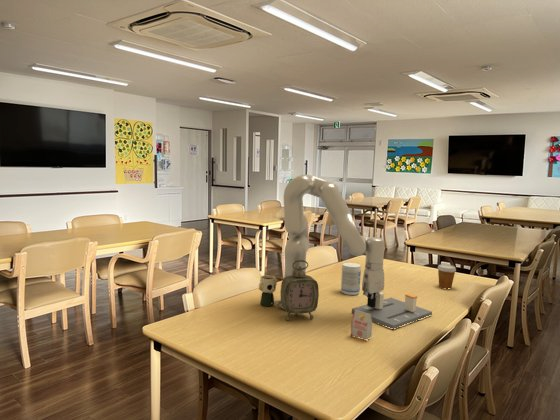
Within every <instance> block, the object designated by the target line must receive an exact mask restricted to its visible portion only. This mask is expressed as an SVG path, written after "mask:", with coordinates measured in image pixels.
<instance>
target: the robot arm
mask: <svg viewBox="0 0 560 420" xmlns="http://www.w3.org/2000/svg"><path fill="white" fill-rule="evenodd" d="M306 194H308V195H311V196H313V197H316V198H319V199H320V200H321V201H322V203H323V205H324V207H325V209H326V210H327V212H328V214H329V216H330V217H331V220H332V222H333V223H334V226H335V227H336V229H337V231H338V233H339V235H340V237H341V239H342V241H343V243H344V245H345V247H346V248H347V250H348V251H349V253H350V254H351V255H353V256H355V257H361V256H363V255H365V262H364V264H365V265H364V271H363V274H362V275H363V276H362V281H361V282H362V284H361V289H362V292H363V293H362V294H363V296H366V298H367V304H366V305H367V306H369V307H371V308H374V307H375V304H376V298H377V294H378V293H379V292H381V293H382V291H384V289H385V271H384V270H385V269H384V257H385V253H384V252H385V243H386V241H385V239H384V238H381V237H378V236H372V237H370V236H366V235H365V236H364V235H361V234H360V231H359V229H358V228H357V226H356V224H355V222H354V221H355V220H354V218H353V214H352V212H351V210H350V208H349V206H348V205H347V203H346V201H345V200H344V198H343V195H342V194H341V192H340V188H339V186H338V185H337V184H336V183H334V182H332V181H329V180H326V179H323V178H320V177H317V176H314V175H310V174H301V175H297V176H296V177H294V178H292V179H291V180H290V181H289V182H288V183H287V184H286V186H285V187H284V190H283V215H284V216H283V217H284V229H285V231H286V233H288V241H287V242H286V244H285V247H284V271H283V272H284V277H286V276H291V275H294V273H295V272H296V271H298V270H296V269H294V268H293V267H292V265H293V263H294V262H295V261H297V260H304V261H306V262H307V252H308V251H309V247H310V237H309V234H310V233H309V225H308V224H309V222H308V218H307V216H306V215H305V214H304V203H303V197H304V196H305V195H306ZM293 266H294V267H295V268H299V267H301V268H305V267H307V263H305V262H296V263H295V264H294V265H293ZM306 269H307V268H306ZM306 269H304V270H301V271H304V272H305V274H306ZM306 275H307V274H306ZM284 277H283V278H284ZM274 305H275V306H279V307H280V308H282V309H283V310H285V308H284V307H283V306H282V303H281V299H278V300H274Z"/></svg>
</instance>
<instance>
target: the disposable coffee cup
mask: <svg viewBox="0 0 560 420" xmlns="http://www.w3.org/2000/svg"><path fill="white" fill-rule="evenodd" d="M437 270H438V271H437V272H438V288H440V287H441V288H440V289H442V288H446V289H445V290H449V289H448V288H451V289H452V286H453V283H454V279H455V274H456V272H457V269H456V267H455V266H454V265H451V264H443V263H442V264H438V266H437Z"/></svg>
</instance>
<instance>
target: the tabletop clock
mask: <svg viewBox="0 0 560 420" xmlns="http://www.w3.org/2000/svg"><path fill="white" fill-rule="evenodd" d="M296 262H305V263H306V267H305V268H301V267H299V268H295V267H294V266H293V265H294V264H295V263H296ZM293 265H292V267H293V268H294V269H296V270H298V271H296V272H295V273H294V275H291V276H286V277H283V279H282V281H281V284H280V300H281V303H282V306H283V307H284V308H285V309H284V310H285V311H286V312H287V316H286V317H285V321H287V322H289V320H290V315H291V314H293V315H294V316H295V317H297V316H298V315H302V314H309V319H310V320H313V319H314V315H313V314H311V313H313V312H315V311H316V310H317V308H318V303H319V296H320V295H319V289H320V288H319V284H318V282H317V280H316V279H314V278H313V277H312V276H310V275H307V274H305V272H304V271H301V270H304V269H308V268H309V262H307V260H306V261H304V260H297V261H295V262H294V263H293Z"/></svg>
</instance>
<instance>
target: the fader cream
mask: <svg viewBox="0 0 560 420" xmlns="http://www.w3.org/2000/svg"><path fill="white" fill-rule="evenodd" d="M384 296H385V293H384V292H382V291H381V292H379V293H378V294H377V298H376V304H375V307H374V308H377V309H383V300H384Z"/></svg>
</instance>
